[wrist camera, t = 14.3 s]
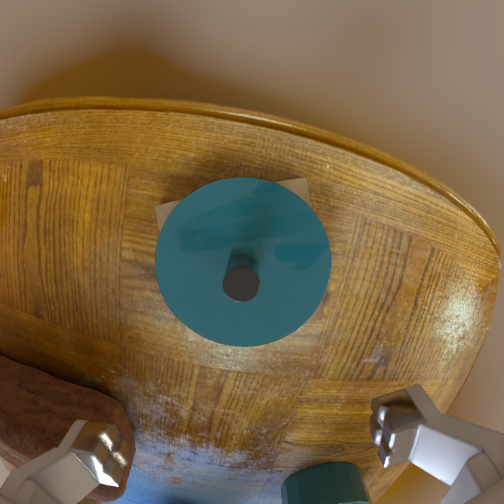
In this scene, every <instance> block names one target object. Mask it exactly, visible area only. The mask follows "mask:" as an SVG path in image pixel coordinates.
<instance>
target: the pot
mask: <svg viewBox="0 0 504 504" xmlns="http://www.w3.org/2000/svg"><path fill="white" fill-rule="evenodd" d="M281 494H282V504H372V502H371V499H370V496H369V493H368V489H367V486H366V483H365V481H364V478H363V475H362V472H361V471H360V469H359V467H357V466H356V465H354V464H351V463H343V462H337V463H327V464H321V465H317V466H313V467H310V468H307V469H304V470H302V471H299V472H297V473H295V474H294V475H292V476H290V477H289V478H288V479H287V480H285V482H284V483H283V485H282V488H281Z"/></svg>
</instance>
